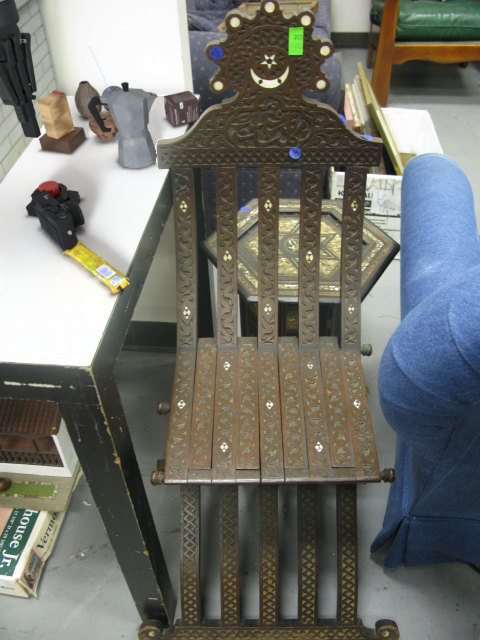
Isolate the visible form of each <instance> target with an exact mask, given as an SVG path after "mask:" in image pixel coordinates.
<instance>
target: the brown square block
mask: <svg viewBox="0 0 480 640" xmlns="http://www.w3.org/2000/svg"><path fill="white" fill-rule="evenodd" d="M74 128H75V130H73V131H71V132H69V133H68V134H66V135H64V136H62V137H61V138H59V139H55V138H52V137H48V136H47V133H46V132H45V133H44V134H42V135H41V136H39V137H38V141H39V145H40V148H41V150H42V151H43V152H55V153H62V154H70V155H71V154H72V153H73V152H74V151H75V150H76V149H77V148H79V146H81V144H82V143H84V141H86V140H87V137H86V132H85V128H84V127H83V126H82V127H81V126H74Z"/></svg>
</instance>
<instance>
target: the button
mask: <svg viewBox="0 0 480 640" xmlns="http://www.w3.org/2000/svg"><path fill="white" fill-rule="evenodd" d="M58 183H59V182H57V181H55V180H46V181H43V182H41V183H40V184H39V185H38V187H37V188H39V190H44V189H45V190H46V191H47V192H48V193H49V194H50V195H51V196H55V195H58V194H59V193H60V189H59V185H58Z"/></svg>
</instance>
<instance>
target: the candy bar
mask: <svg viewBox="0 0 480 640" xmlns="http://www.w3.org/2000/svg"><path fill="white" fill-rule="evenodd" d="M61 254H62V255H66V256H68V257H69V258H71V259H72V260H74V261H75V262H76V263H77V264H79V265H80V266H81V267H83V268H84V269H86V271H89V272H90V274H92V275H93V276H95V277H96V278H97V279H99V280H100V281H101V282H103V284H105V285H106V286H107V287H108V288H110V290H111V292H112V294H113V295H114V294H117V293H118V292H119V291H120V289H118V288H119V287H121V289H125V288H126V287H127V286H129V285H130V282H129V281H130V277H127V276H126V275H124V274H123V273H122V272H120V271H119V270H118V269H116V267H114V266H113V265H111V264H110V263H109V262H107V261H106V260H105V259H103V258H102V257H101V256H99V255H98V254H97V253H96V252H95V251H93V250H92V249H90V248H89V247H88V246H86V244H84V243H83V242H82V241H81V240H78V243H77V245H76V246H75V247H74V248H72V249H70V250H66V251H64V250H63V251H62V252H61Z"/></svg>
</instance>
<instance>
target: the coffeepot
mask: <svg viewBox="0 0 480 640" xmlns="http://www.w3.org/2000/svg"><path fill="white" fill-rule="evenodd" d="M120 85H121V88H122V89H121V90H117V91H114V92H111V93H110V94H109V95H102V94H101V95H100V96H94V97H92V99H91V100H90V102H89V104H88V109H89V111H90V113H91V114H92V116H93V117H94V119H95V121H96V122H97V124H98V126H99V127H100V129H101V130H102V132H111V129H112V128H106V127H105V125H104V121H103V119H102V118H101V117H100V114H101V113H100V114H99V112H98V110H97V108H96V106H97V105H102V106H103V105H108V107H109V110H110V112H111V115H112V118H113V121H114V123H115V126H116V127H117V129H118V131H117V132H118V135H117V150H118V151H117V152H118V153H117V154H118V155H117V157H118V158H117V159H118V162H119V163H120V164H121V166H123V167H125V168H128V169H142V168H146V167H148V166H151V165H152V164H154V163H155V162H156V160H157V158H158V156H157V155H158V153H157V154H156V152H157V149H156V147H155V143H154V140H153V137H152V134H151V132H150V130H149V128H148V125H149V123H150V111H151V109H152V106H153V104H154V102H155V100H156V99H157V98H159V97H158V94H157V93H155V92H152V91H145V90H144V89H143V88H135V87H134V88H132V87H130V84H129V82H128V81H123V82H121V83H120ZM110 112H109V113H110Z"/></svg>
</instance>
